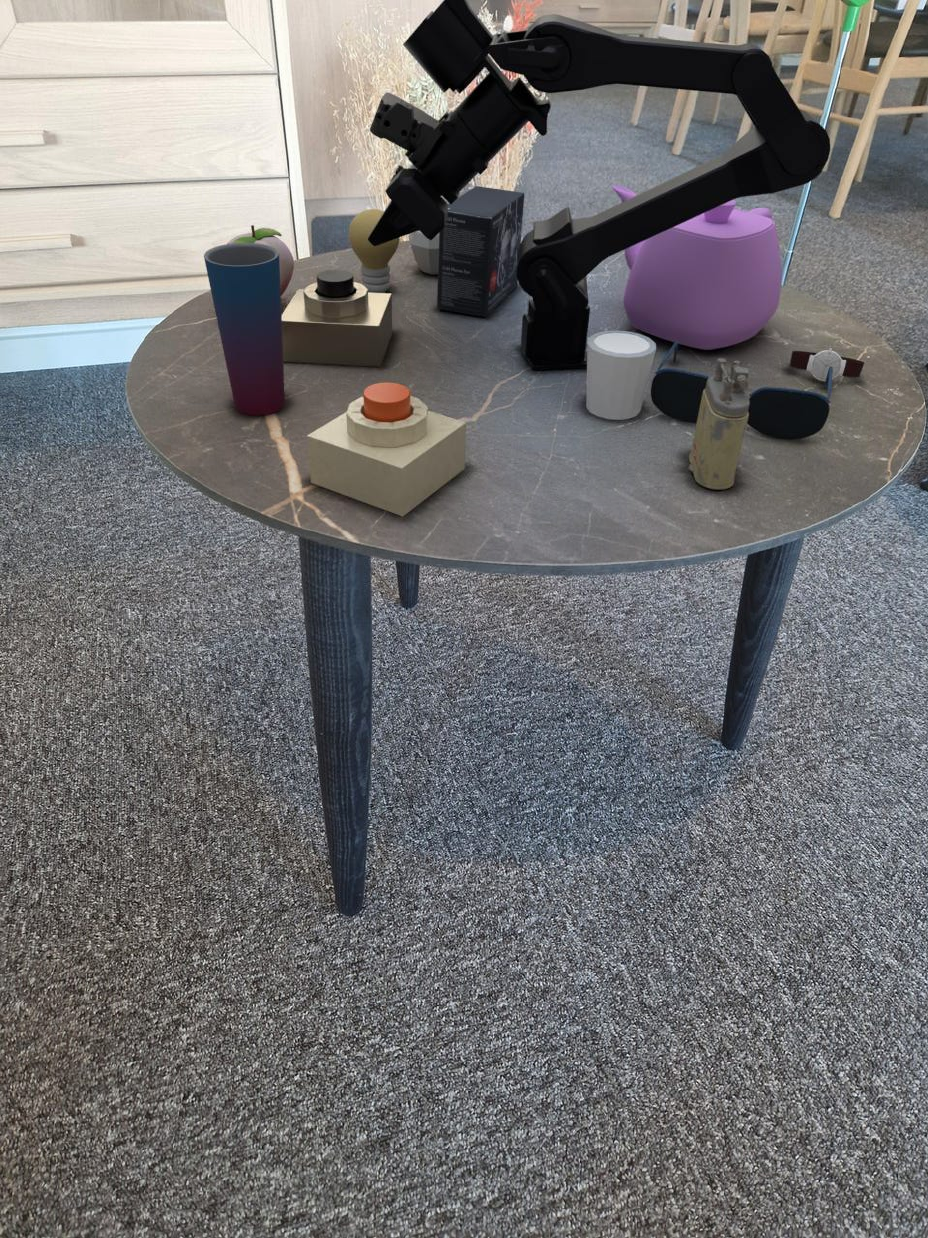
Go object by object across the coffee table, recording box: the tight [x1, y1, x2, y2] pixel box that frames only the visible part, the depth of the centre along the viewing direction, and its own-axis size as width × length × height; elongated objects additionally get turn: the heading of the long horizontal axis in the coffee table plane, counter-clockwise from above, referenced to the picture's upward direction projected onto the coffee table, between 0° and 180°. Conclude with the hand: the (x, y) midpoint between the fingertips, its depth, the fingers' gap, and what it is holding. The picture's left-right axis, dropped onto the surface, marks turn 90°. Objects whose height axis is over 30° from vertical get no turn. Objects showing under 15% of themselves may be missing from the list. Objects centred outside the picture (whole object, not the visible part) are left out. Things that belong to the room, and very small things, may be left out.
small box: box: [436, 185, 525, 318], centre depth 117 cm, size 13×7×12 cm, turn 160°
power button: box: [362, 382, 411, 422], centre depth 80 cm, size 4×4×2 cm
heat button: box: [316, 269, 355, 298], centre depth 103 cm, size 4×4×2 cm
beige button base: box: [281, 281, 393, 368], centre depth 105 cm, size 11×10×6 cm
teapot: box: [611, 184, 783, 351], centre depth 112 cm, size 23×21×15 cm
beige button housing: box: [306, 395, 467, 518], centre depth 82 cm, size 10×10×6 cm
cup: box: [203, 243, 286, 416], centre depth 90 cm, size 7×7×15 cm
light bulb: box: [348, 208, 401, 293], centre depth 119 cm, size 6×6×10 cm
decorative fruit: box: [226, 224, 295, 296], centre depth 113 cm, size 9×8×10 cm
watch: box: [789, 347, 865, 382], centre depth 103 cm, size 8×5×4 cm, turn 70°
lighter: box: [688, 358, 750, 490], centre depth 83 cm, size 7×4×10 cm, turn 177°
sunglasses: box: [650, 342, 833, 440], centre depth 98 cm, size 17×15×5 cm
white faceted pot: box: [408, 230, 439, 276], centre depth 126 cm, size 8×8×7 cm
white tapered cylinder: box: [585, 330, 657, 421], centre depth 94 cm, size 7×7×7 cm
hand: (371, 242), depth 99 cm, fingers closed
